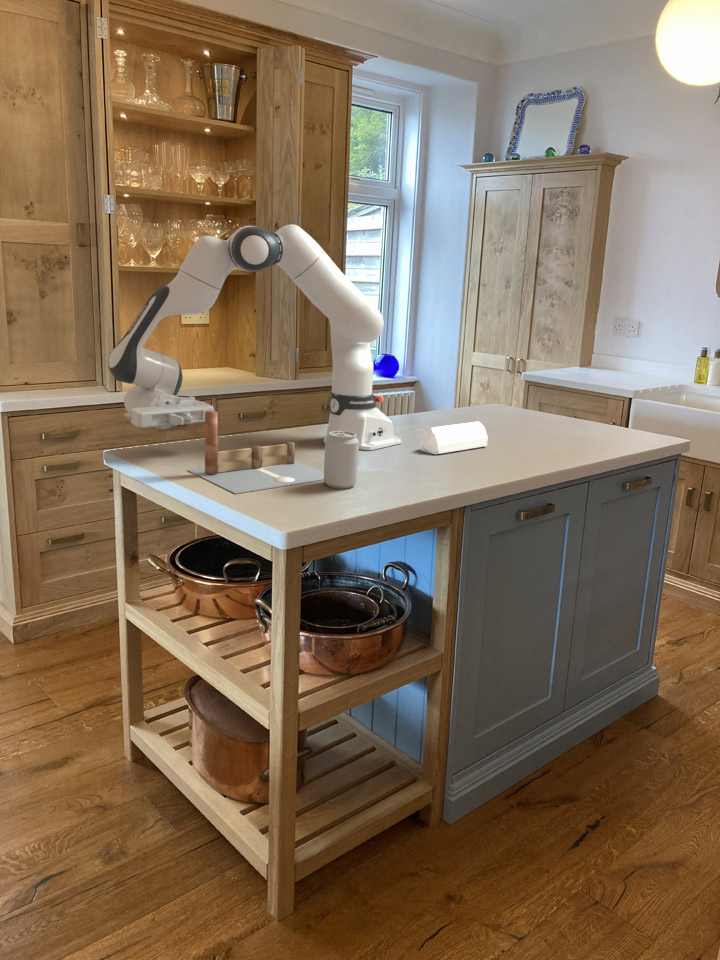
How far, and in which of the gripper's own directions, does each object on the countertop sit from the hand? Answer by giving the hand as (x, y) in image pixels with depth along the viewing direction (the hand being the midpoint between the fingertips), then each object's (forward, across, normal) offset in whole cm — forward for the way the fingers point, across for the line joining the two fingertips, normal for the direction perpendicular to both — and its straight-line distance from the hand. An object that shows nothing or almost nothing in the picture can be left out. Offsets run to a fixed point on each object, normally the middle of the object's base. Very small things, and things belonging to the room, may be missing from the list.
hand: (187, 420), depth 183 cm
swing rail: (+12, +4, +10) cm, 16 cm away
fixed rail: (+12, +17, +10) cm, 23 cm away
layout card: (+17, +10, +10) cm, 22 cm away
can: (+33, +21, +11) cm, 40 cm away
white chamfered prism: (+18, +72, +11) cm, 75 cm away
